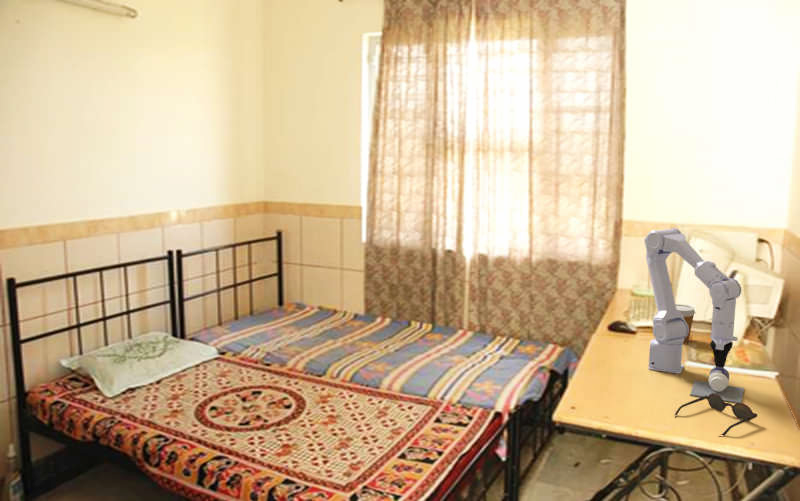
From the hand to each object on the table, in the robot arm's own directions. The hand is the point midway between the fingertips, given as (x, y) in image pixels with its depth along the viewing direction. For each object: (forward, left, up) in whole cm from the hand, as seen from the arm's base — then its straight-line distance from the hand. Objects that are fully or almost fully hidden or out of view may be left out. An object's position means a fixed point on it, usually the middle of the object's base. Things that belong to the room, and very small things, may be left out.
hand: (719, 366), depth 192 cm
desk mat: (0, -4, -6) cm, 8 cm away
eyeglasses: (+1, -25, -7) cm, 26 cm away
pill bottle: (0, +3, -3) cm, 4 cm away
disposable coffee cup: (-16, +42, -7) cm, 45 cm away
